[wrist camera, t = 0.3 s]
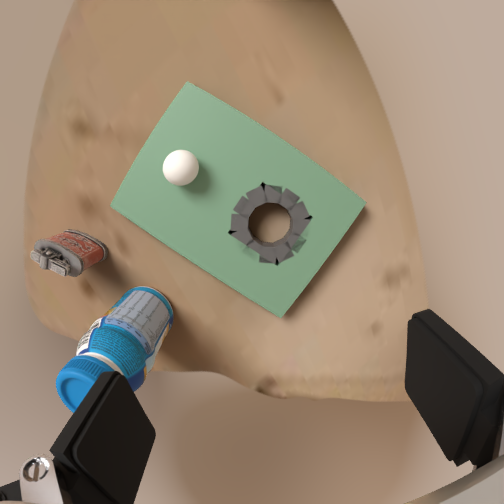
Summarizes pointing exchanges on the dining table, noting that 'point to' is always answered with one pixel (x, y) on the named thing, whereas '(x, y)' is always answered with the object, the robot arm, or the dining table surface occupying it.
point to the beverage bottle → (118, 344)
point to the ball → (180, 167)
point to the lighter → (69, 252)
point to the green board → (236, 200)
